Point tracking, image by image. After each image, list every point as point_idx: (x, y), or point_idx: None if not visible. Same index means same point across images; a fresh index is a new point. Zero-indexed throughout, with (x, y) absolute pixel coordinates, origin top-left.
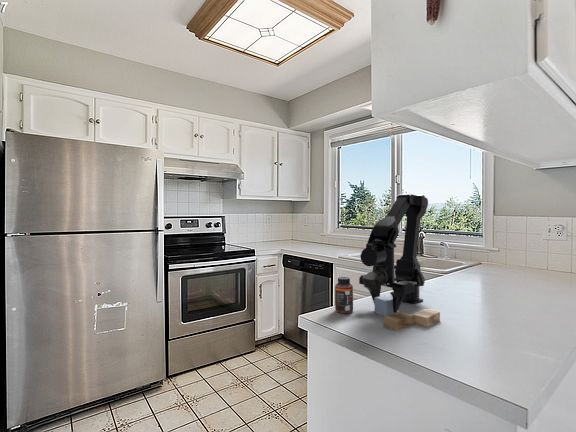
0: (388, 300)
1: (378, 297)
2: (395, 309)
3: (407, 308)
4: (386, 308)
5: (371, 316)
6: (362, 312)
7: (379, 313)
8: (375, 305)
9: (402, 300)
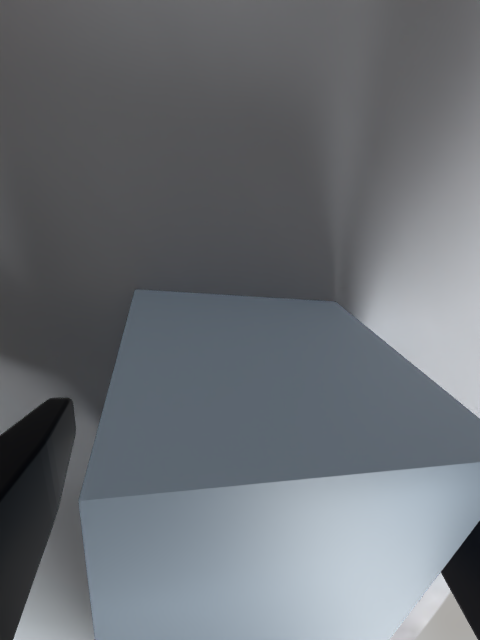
0: (92, 566)
1: (437, 520)
2: (7, 442)
3: None
4: (120, 350)
5: (279, 98)
6: (456, 171)
7: (259, 297)
8: (373, 347)
9: None
